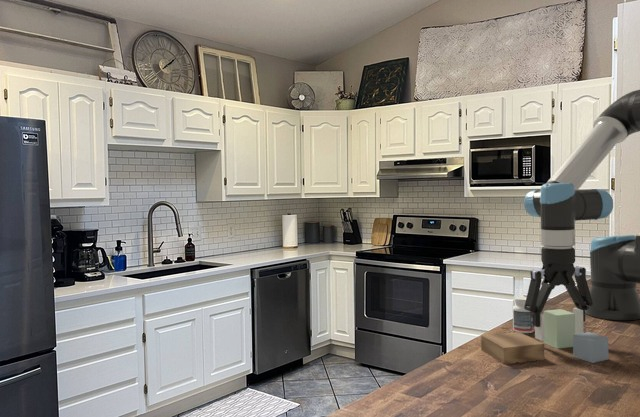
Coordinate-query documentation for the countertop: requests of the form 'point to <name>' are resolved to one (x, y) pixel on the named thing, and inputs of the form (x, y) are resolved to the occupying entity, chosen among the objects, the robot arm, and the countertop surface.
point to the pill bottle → (522, 317)
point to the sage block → (559, 328)
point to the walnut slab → (512, 347)
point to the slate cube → (590, 347)
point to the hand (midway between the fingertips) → (559, 337)
